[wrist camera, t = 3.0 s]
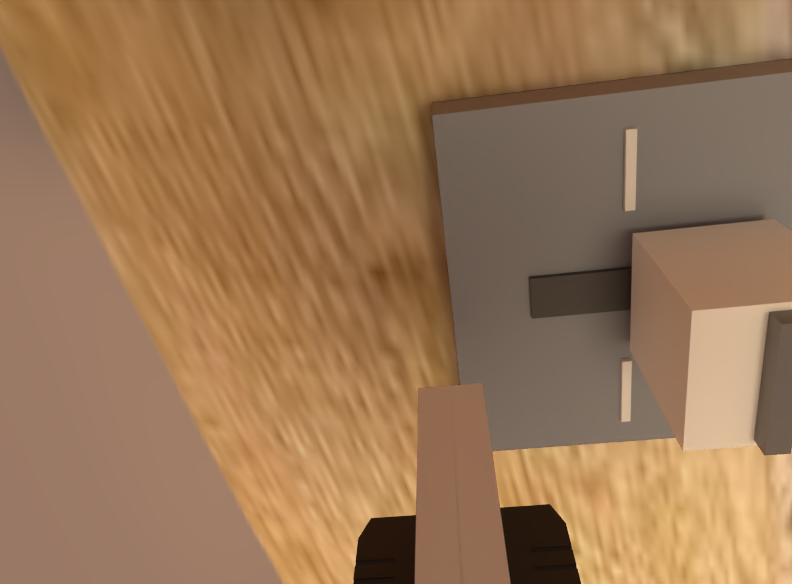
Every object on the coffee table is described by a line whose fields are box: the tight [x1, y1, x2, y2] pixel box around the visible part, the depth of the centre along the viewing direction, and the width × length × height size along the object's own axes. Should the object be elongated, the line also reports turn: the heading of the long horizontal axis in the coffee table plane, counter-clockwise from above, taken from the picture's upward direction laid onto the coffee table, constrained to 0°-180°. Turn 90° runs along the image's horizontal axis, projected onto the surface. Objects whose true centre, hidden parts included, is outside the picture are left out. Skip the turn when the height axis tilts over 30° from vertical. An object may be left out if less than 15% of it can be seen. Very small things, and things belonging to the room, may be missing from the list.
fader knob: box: [630, 219, 792, 455], centre depth 18 cm, size 4×4×6 cm
